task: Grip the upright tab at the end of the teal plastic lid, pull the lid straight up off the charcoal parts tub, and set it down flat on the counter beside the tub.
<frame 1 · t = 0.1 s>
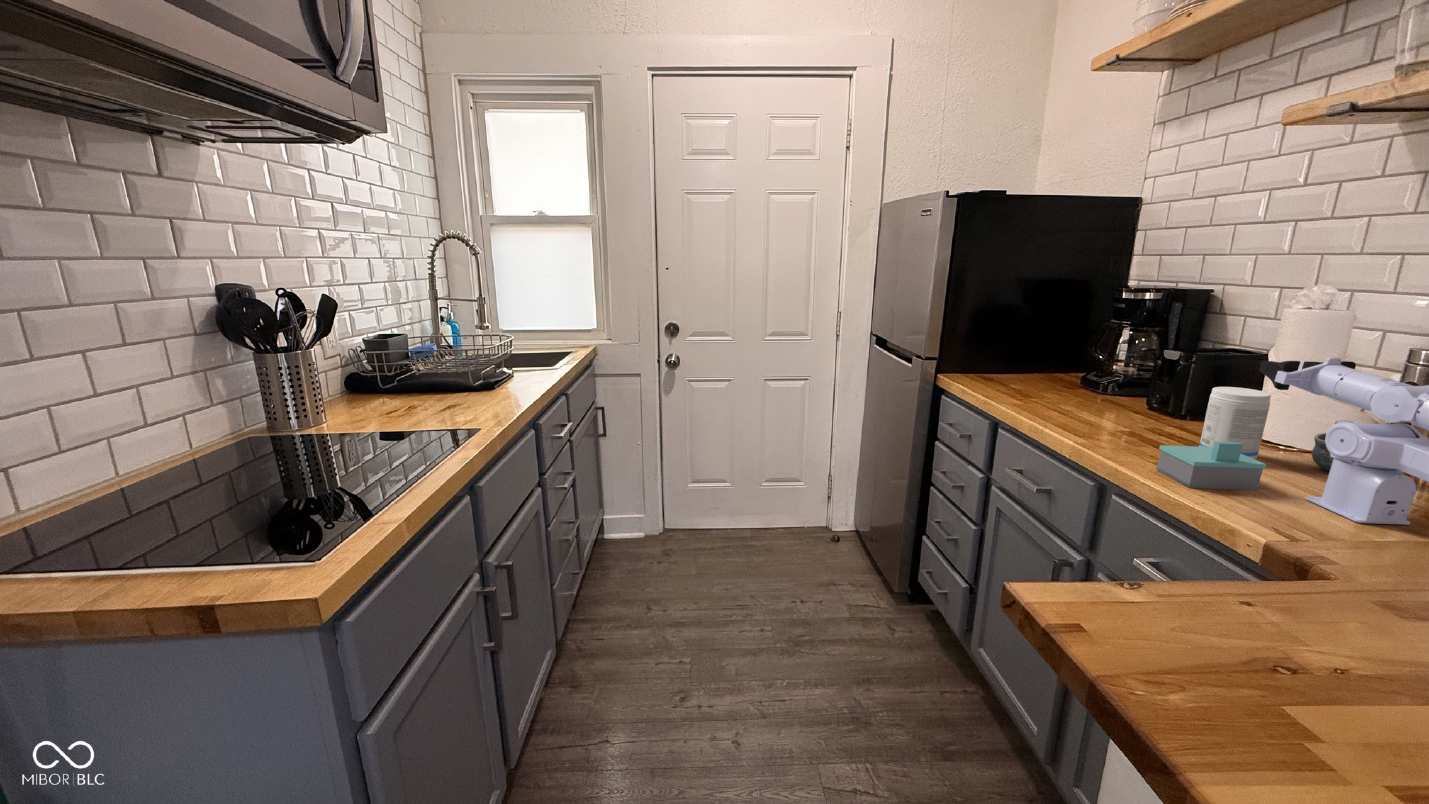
hand: (1283, 366, 109), 22 cm above the worktop, tool horizontal, fingers open, 7 cm apart
parts tub: (1204, 479, 109), on the worktop
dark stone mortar: (1336, 471, 114), on the worktop
lid: (1208, 463, 108), point 3 cm above the worktop, touching parts tub
supplement tub: (1225, 456, 122), on the worktop
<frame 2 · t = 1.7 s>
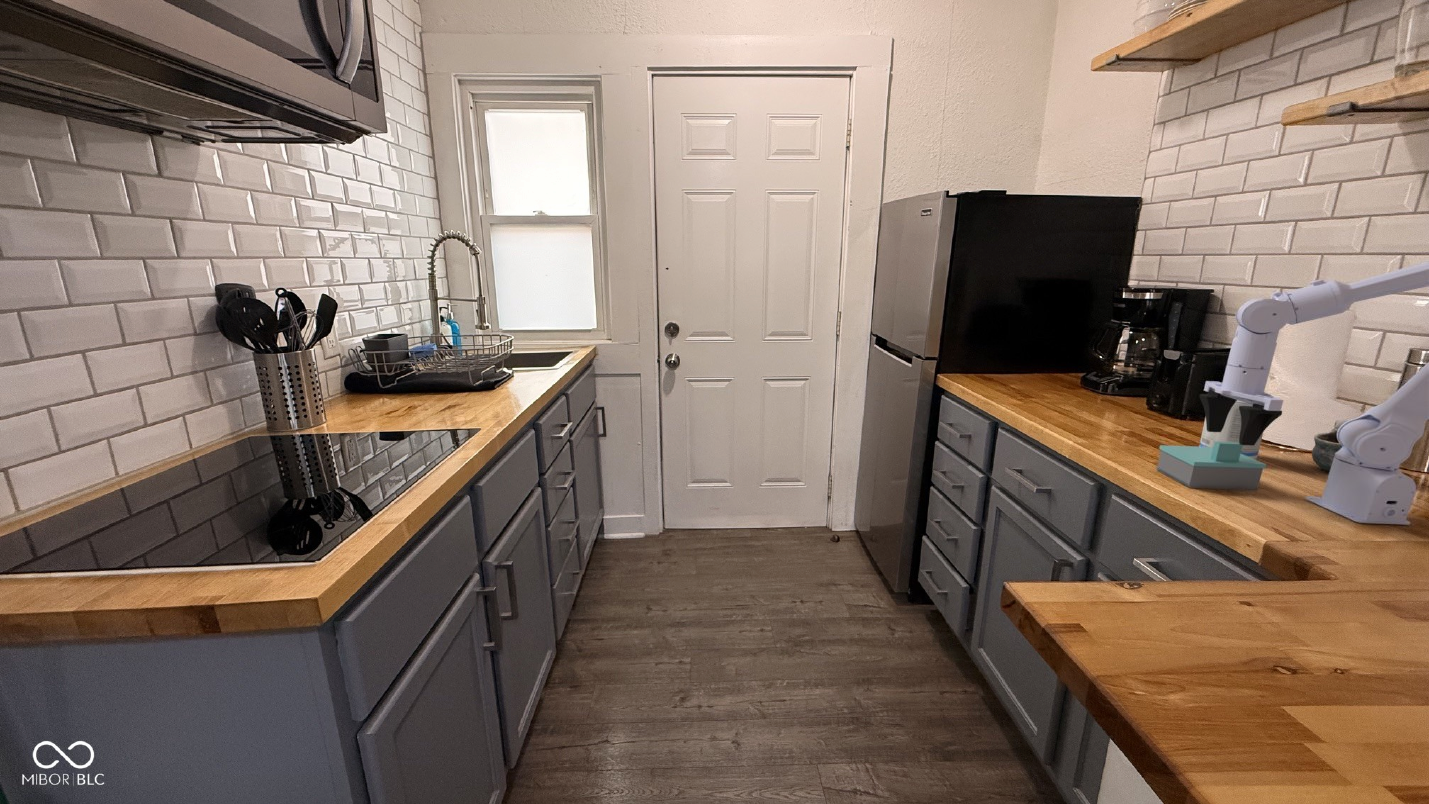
hand: (1229, 438, 103), 10 cm above the worktop, tool pointing down, fingers open, 7 cm apart
nothing on the worktop moved.
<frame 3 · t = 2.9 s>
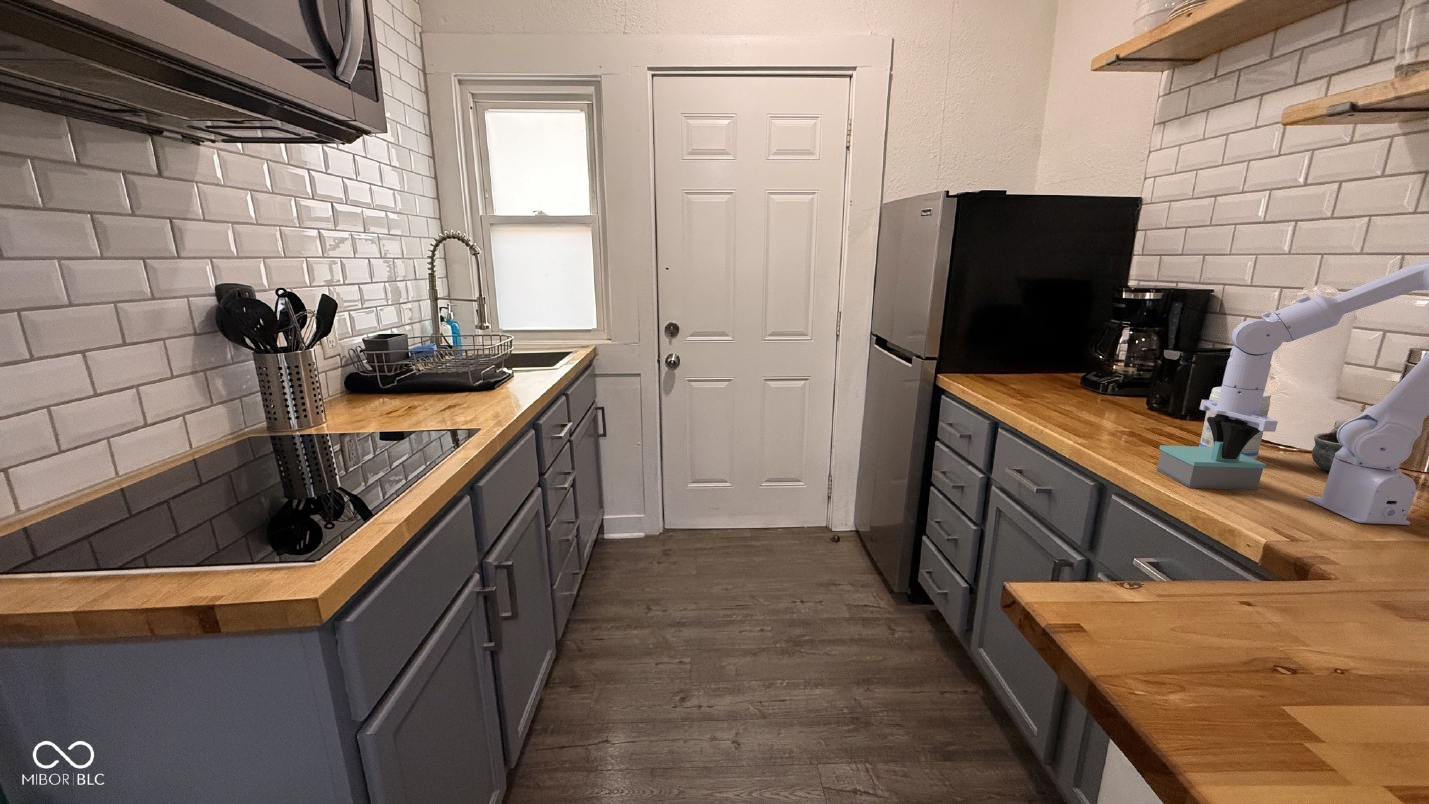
hand: (1225, 456, 104), 6 cm above the worktop, tool pointing down, fingers closed on lid
lid: (1208, 463, 108), point 3 cm above the worktop, touching gripper, parts tub
everything else where it was.
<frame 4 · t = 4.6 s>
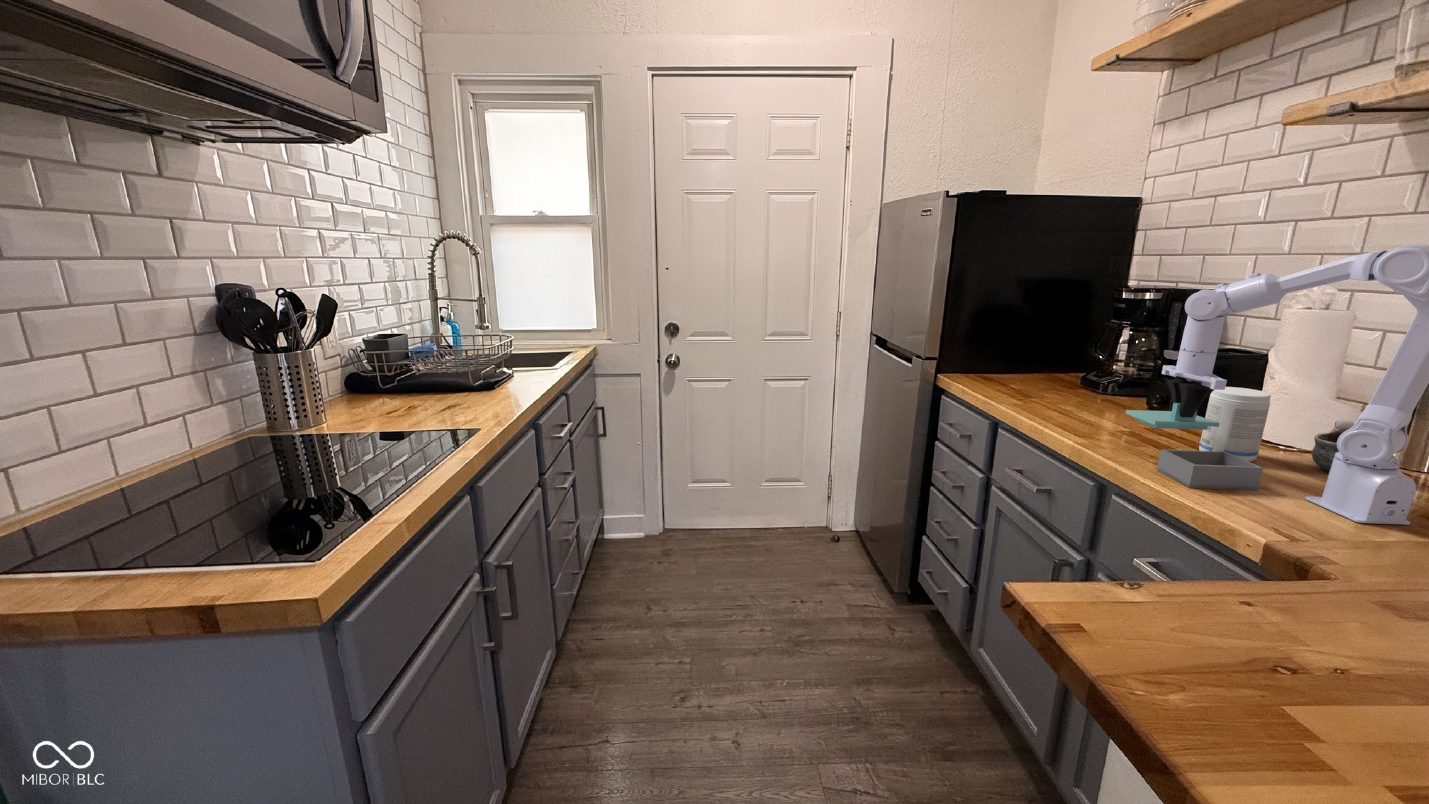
hand: (1183, 415, 115), 11 cm above the worktop, tool pointing down, fingers closed on lid
lid: (1169, 424, 118), point 8 cm above the worktop, touching gripper
everything else where it was.
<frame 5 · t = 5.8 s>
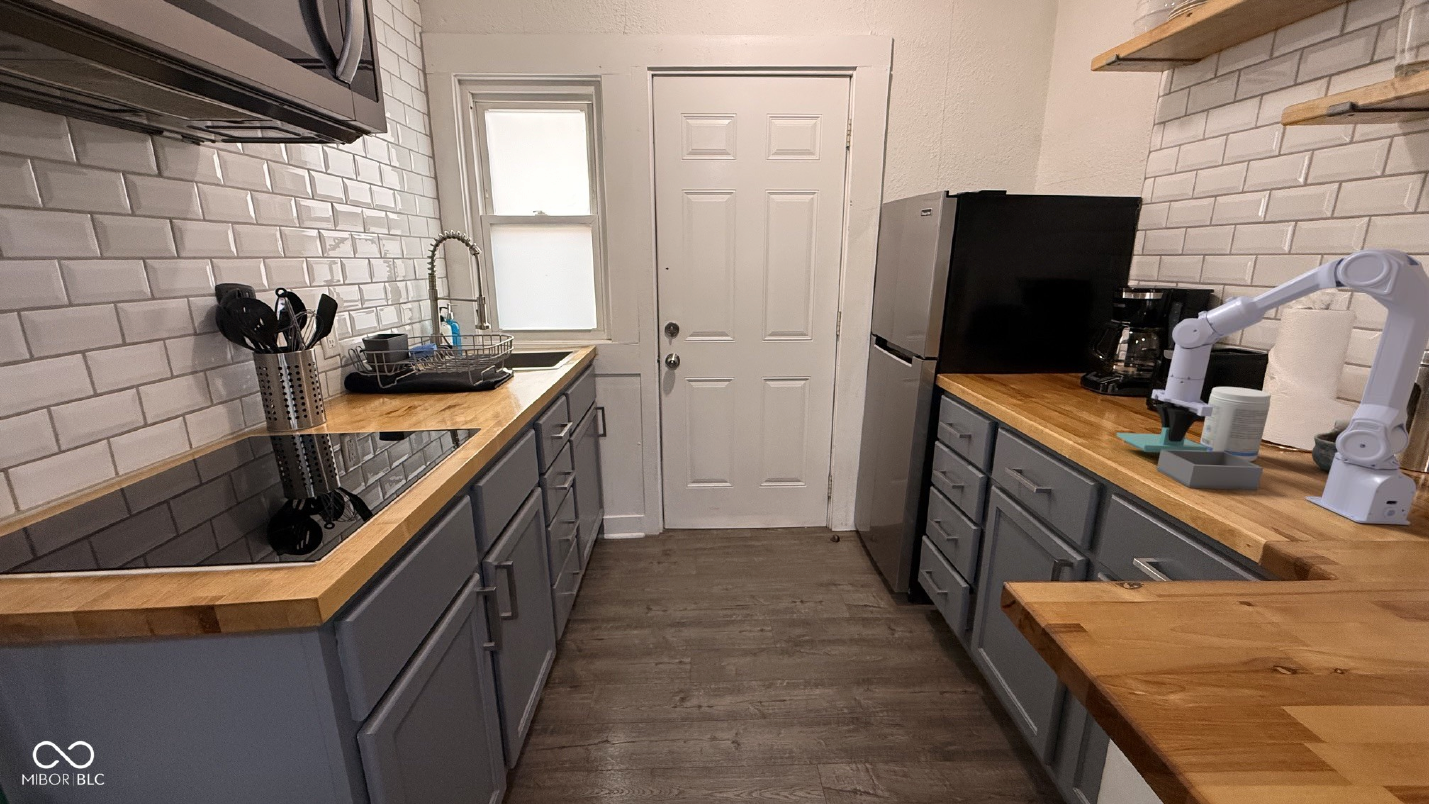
hand: (1171, 439, 118), 5 cm above the worktop, tool pointing down, fingers closed on lid
lid: (1158, 447, 122), point 2 cm above the worktop, touching gripper
everything else where it was.
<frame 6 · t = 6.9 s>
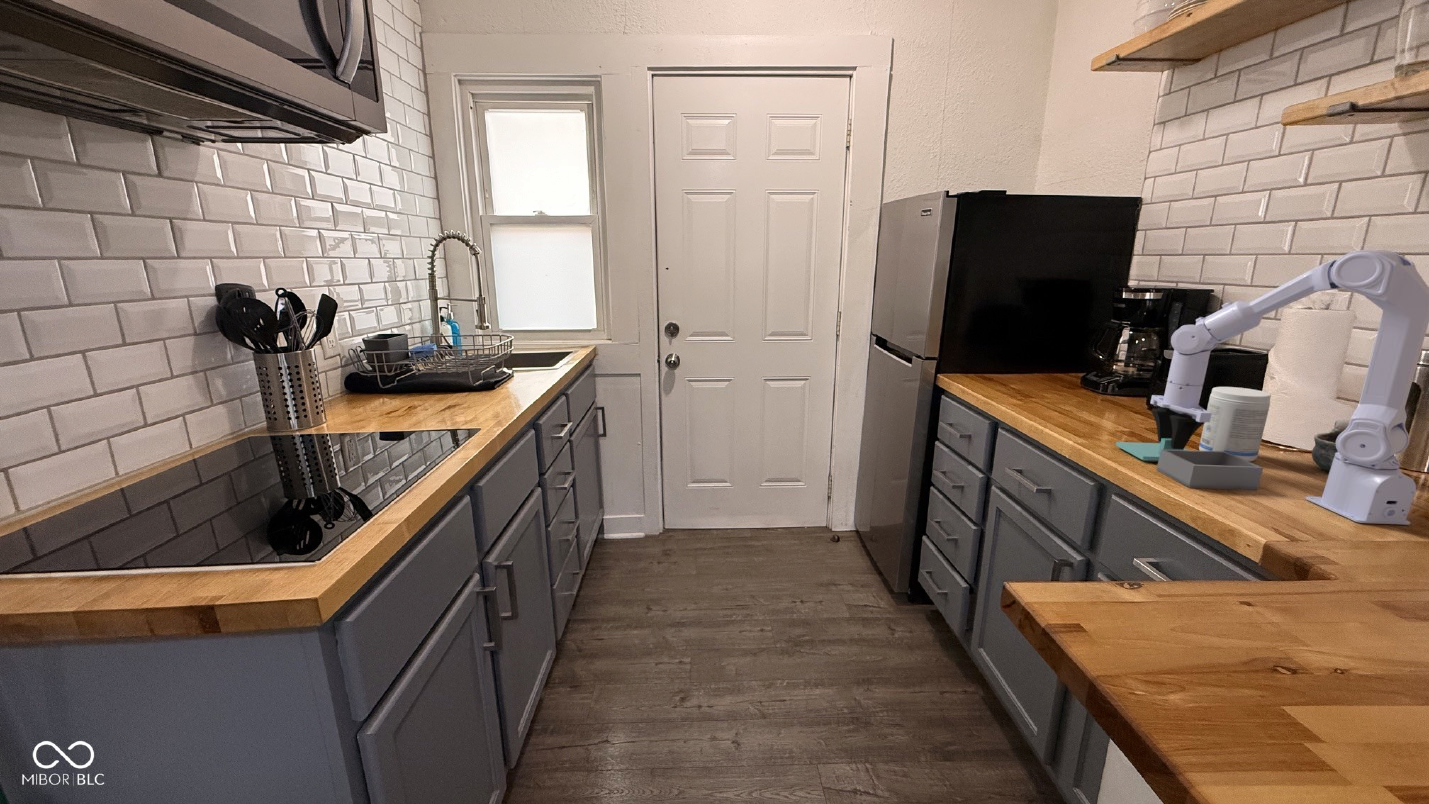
hand: (1170, 445, 118), 4 cm above the worktop, tool pointing down, fingers open, 3 cm apart
lid: (1157, 457, 122), on the worktop
everything else where it was.
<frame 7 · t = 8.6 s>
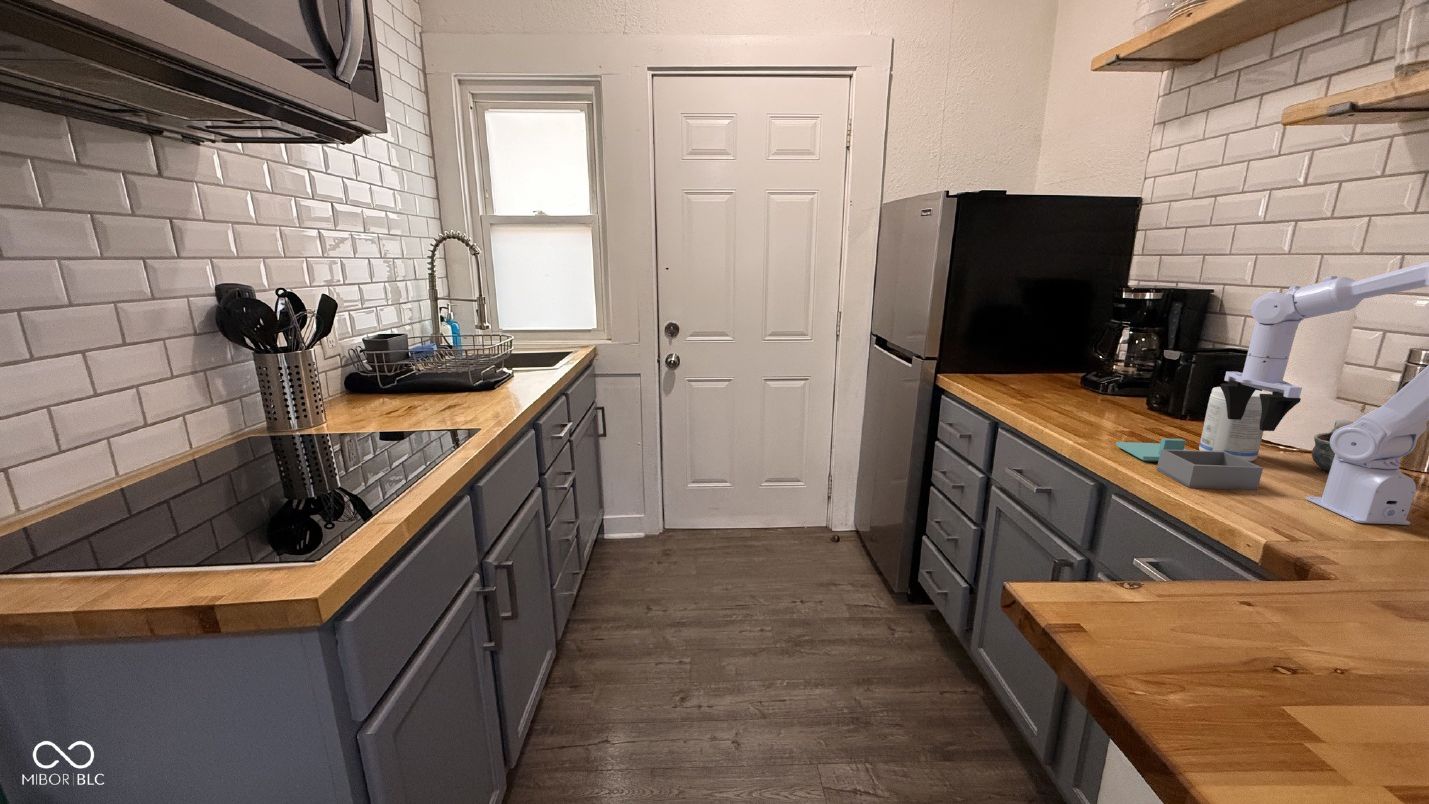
hand: (1249, 424, 109), 10 cm above the worktop, tool pointing down, fingers open, 7 cm apart
nothing on the worktop moved.
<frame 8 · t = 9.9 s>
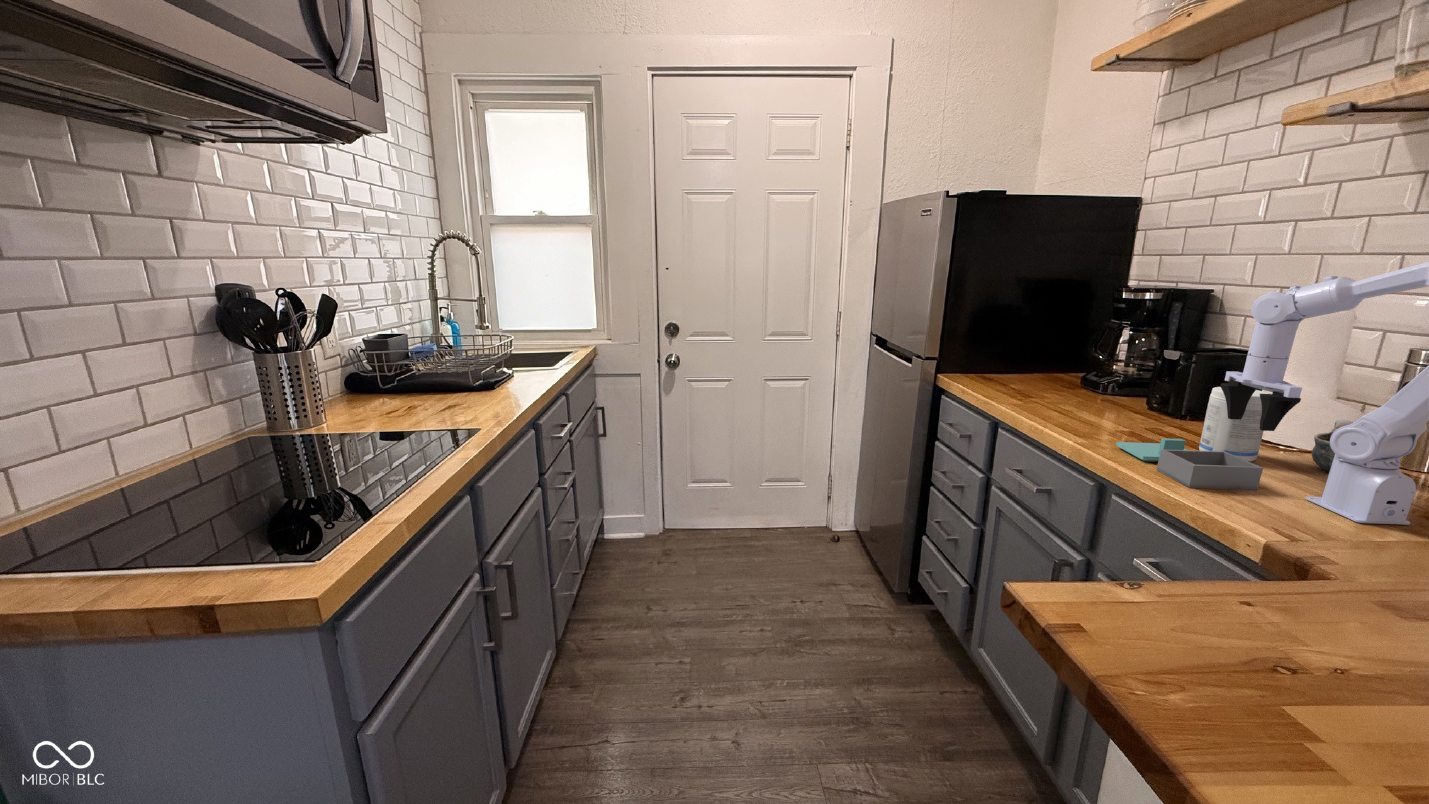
hand: (1250, 424, 109), 10 cm above the worktop, tool pointing down, fingers open, 7 cm apart
nothing on the worktop moved.
at the end: lid touching worktop; lid inside the target area (0.1 cm from its centre), on the worktop; lid tilted 0° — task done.
